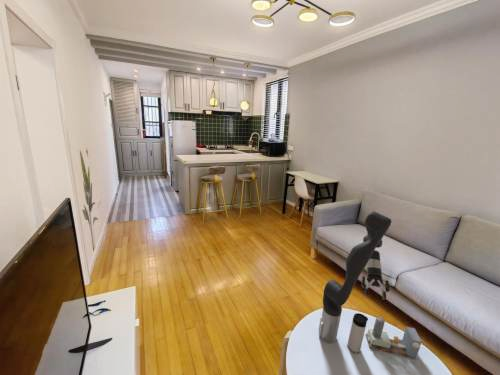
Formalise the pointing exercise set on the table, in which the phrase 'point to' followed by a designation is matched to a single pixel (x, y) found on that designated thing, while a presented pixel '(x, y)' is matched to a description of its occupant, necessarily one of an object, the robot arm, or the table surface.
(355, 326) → the travel mug
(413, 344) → the end cabinet
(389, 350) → the track
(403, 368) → the table surface
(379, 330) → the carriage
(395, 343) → the button
